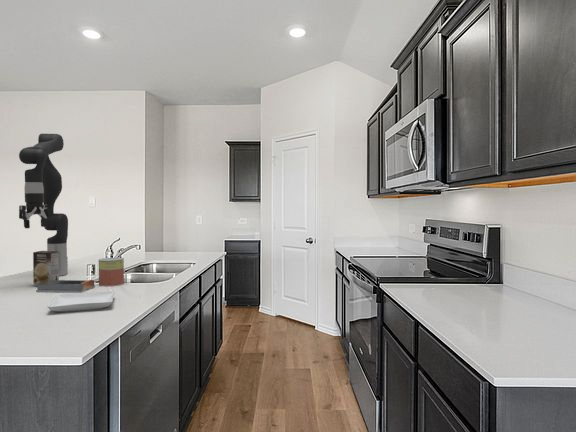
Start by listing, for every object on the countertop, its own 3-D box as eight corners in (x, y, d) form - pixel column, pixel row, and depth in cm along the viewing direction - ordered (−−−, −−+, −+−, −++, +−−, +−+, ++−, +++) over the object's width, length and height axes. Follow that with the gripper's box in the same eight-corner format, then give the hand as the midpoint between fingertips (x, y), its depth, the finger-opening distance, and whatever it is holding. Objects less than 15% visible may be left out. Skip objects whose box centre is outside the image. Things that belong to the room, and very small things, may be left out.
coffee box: (32, 286, 194) (31, 252, 193) (41, 283, 200) (41, 250, 199) (50, 286, 193) (50, 252, 192) (59, 284, 199) (59, 250, 199)
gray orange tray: (52, 286, 193) (52, 278, 193) (95, 287, 192) (94, 278, 192) (36, 292, 181) (36, 283, 181) (81, 292, 180) (81, 283, 180)
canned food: (128, 281, 205) (128, 257, 205) (116, 286, 194) (116, 260, 194) (106, 281, 206) (106, 257, 206) (93, 285, 195) (93, 260, 195)
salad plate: (56, 302, 164) (56, 293, 164) (114, 298, 172) (114, 290, 171) (46, 316, 144) (46, 306, 144) (112, 310, 152) (112, 301, 152)
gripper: (41, 192, 199) (42, 226, 200) (13, 192, 185) (15, 228, 186) (53, 192, 197) (54, 226, 198) (26, 192, 183) (27, 229, 184)
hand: (35, 227), depth 192 cm, fingers open, 8 cm apart
